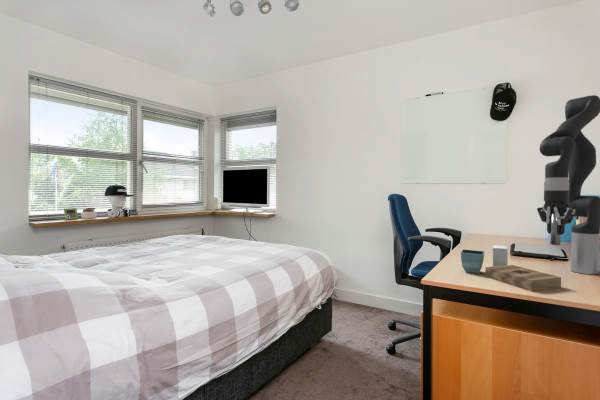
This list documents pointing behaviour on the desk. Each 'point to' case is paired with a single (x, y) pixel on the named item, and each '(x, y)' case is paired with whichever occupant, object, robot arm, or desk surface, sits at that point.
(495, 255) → the small box
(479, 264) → the flower pot
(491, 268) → the hole block
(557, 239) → the peg
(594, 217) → the robot arm
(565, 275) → the desk surface
